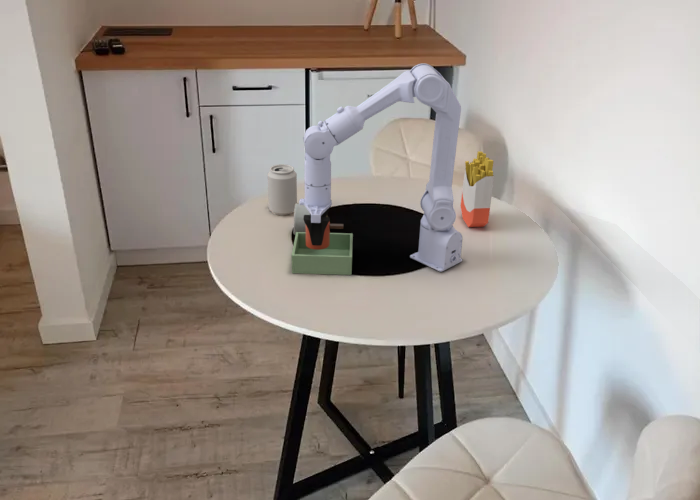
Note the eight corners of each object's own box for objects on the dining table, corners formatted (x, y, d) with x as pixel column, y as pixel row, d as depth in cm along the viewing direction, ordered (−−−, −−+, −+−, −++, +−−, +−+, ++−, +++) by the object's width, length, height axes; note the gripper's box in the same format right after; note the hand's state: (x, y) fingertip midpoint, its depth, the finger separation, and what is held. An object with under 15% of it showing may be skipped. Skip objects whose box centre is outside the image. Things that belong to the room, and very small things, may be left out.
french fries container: (469, 231, 171) (477, 164, 162) (458, 213, 180) (465, 149, 172) (487, 231, 171) (496, 163, 163) (475, 213, 181) (482, 148, 172)
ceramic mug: (327, 240, 165) (327, 211, 161) (293, 240, 164) (292, 210, 161) (326, 222, 174) (326, 194, 171) (294, 222, 174) (294, 194, 170)
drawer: (352, 250, 160) (352, 233, 158) (351, 275, 150) (352, 257, 148) (296, 248, 160) (296, 231, 158) (291, 273, 150) (291, 255, 148)
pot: (304, 249, 151) (304, 226, 148) (306, 238, 155) (306, 216, 153) (342, 250, 151) (343, 227, 148) (343, 239, 155) (343, 217, 153)
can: (281, 202, 184) (280, 160, 179) (302, 209, 180) (302, 167, 175) (262, 211, 179) (261, 168, 173) (284, 218, 175) (283, 175, 169)
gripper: (301, 169, 153) (302, 224, 159) (296, 194, 140) (297, 253, 146) (333, 170, 153) (332, 225, 159) (330, 195, 140) (329, 254, 146)
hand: (317, 238), depth 152 cm, fingers closed on pot, 5 cm apart
